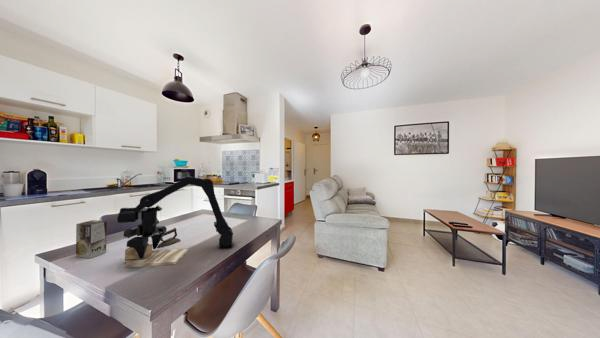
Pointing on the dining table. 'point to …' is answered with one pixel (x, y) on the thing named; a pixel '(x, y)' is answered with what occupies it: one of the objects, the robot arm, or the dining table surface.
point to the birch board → (159, 258)
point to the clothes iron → (170, 240)
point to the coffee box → (91, 238)
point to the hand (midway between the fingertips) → (148, 253)
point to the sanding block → (133, 255)
